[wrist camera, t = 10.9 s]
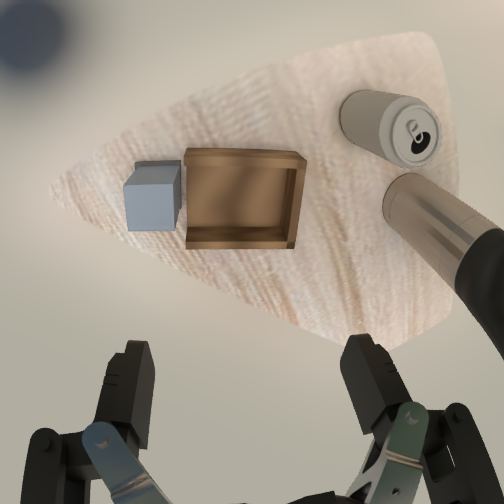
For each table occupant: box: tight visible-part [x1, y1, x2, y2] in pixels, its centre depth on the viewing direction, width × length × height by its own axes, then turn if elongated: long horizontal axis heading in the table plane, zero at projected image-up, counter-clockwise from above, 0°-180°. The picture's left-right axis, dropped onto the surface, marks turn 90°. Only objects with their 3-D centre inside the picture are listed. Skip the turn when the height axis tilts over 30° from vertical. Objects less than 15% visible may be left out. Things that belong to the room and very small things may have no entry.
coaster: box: [135, 160, 181, 209], centre depth 35 cm, size 6×6×1 cm
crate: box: [184, 148, 307, 249], centre depth 35 cm, size 13×11×4 cm
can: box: [340, 90, 442, 168], centre depth 28 cm, size 8×8×12 cm
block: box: [123, 165, 180, 231], centre depth 31 cm, size 5×5×7 cm
